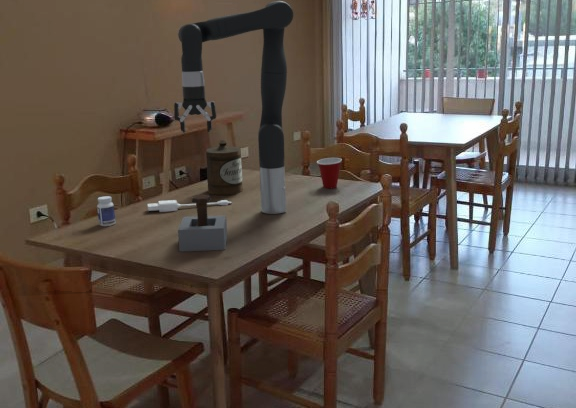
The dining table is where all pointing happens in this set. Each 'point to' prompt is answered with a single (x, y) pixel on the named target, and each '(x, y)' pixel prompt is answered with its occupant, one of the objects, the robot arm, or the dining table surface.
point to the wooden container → (224, 169)
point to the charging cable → (175, 205)
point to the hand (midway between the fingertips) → (196, 131)
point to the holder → (202, 234)
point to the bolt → (201, 209)
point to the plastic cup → (329, 171)
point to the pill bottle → (106, 211)
